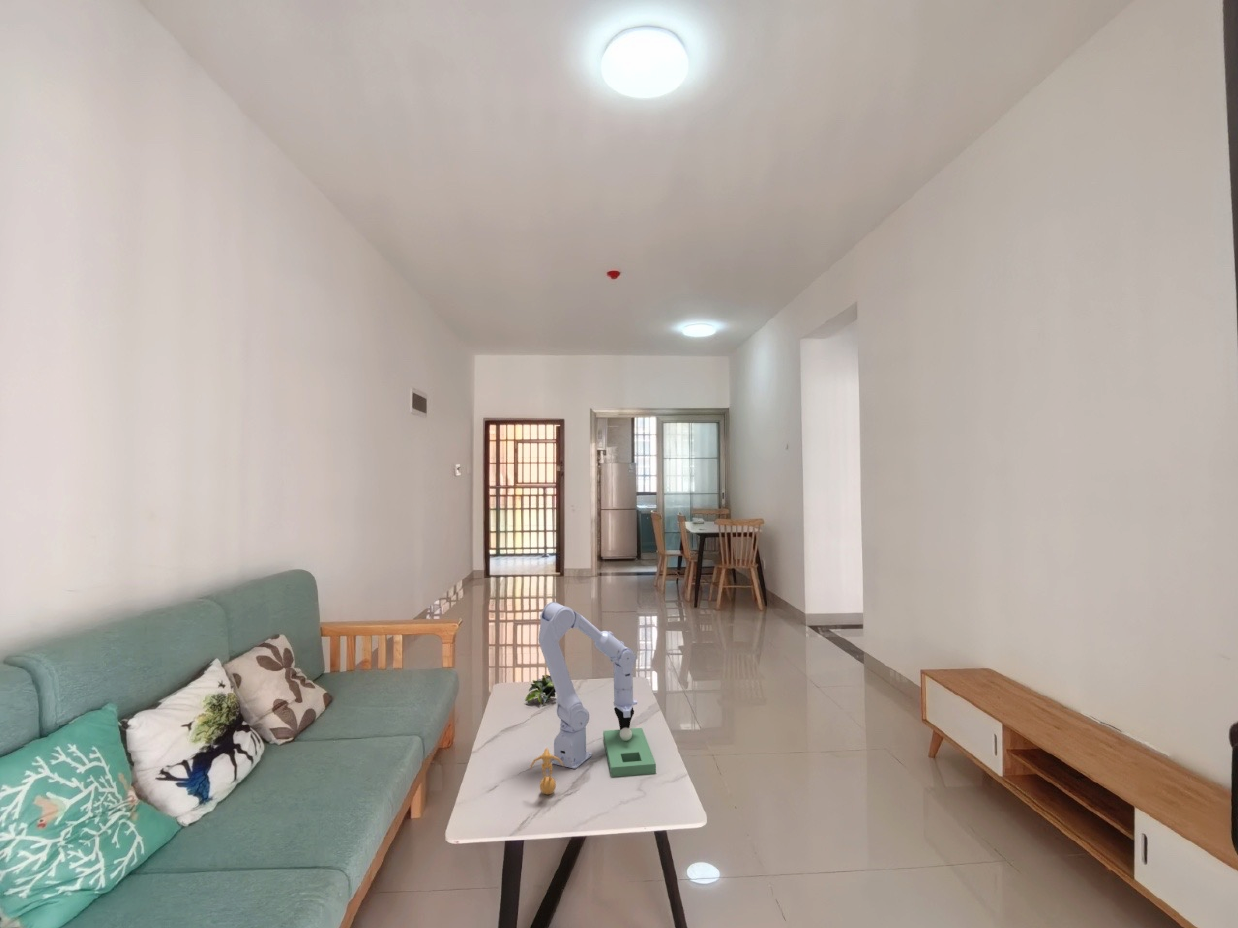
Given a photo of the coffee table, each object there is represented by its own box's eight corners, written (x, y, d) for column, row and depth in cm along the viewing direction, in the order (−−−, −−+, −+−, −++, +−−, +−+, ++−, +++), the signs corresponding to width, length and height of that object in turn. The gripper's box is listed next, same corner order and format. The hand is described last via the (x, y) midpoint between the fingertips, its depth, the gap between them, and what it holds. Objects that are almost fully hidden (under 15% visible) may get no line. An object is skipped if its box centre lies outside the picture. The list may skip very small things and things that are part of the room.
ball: (628, 743, 172) (628, 731, 172) (617, 741, 173) (617, 728, 173) (634, 738, 175) (633, 726, 175) (623, 736, 176) (623, 724, 177)
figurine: (564, 788, 152) (563, 740, 152) (564, 800, 146) (562, 751, 146) (532, 790, 151) (531, 742, 152) (530, 802, 145) (529, 753, 146)
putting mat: (656, 773, 159) (655, 763, 159) (611, 776, 157) (611, 767, 157) (642, 736, 182) (642, 727, 183) (603, 738, 181) (603, 730, 181)
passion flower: (548, 713, 217) (566, 684, 219) (545, 719, 206) (565, 688, 209) (522, 695, 218) (541, 667, 221) (518, 700, 207) (538, 670, 210)
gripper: (640, 694, 171) (641, 742, 170) (633, 678, 185) (634, 722, 185) (616, 695, 170) (617, 744, 169) (610, 679, 184) (611, 724, 184)
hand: (624, 733), depth 177 cm, fingers closed
